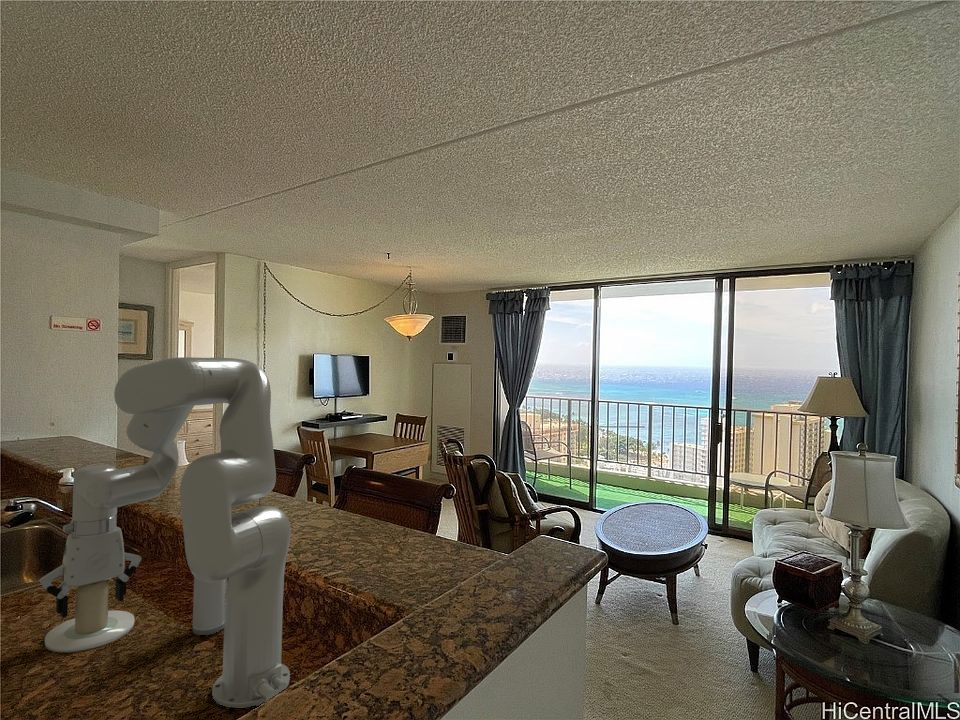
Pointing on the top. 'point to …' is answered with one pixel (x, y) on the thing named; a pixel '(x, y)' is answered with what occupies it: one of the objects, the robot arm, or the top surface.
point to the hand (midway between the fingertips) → (92, 607)
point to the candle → (91, 607)
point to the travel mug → (208, 607)
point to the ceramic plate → (70, 641)
